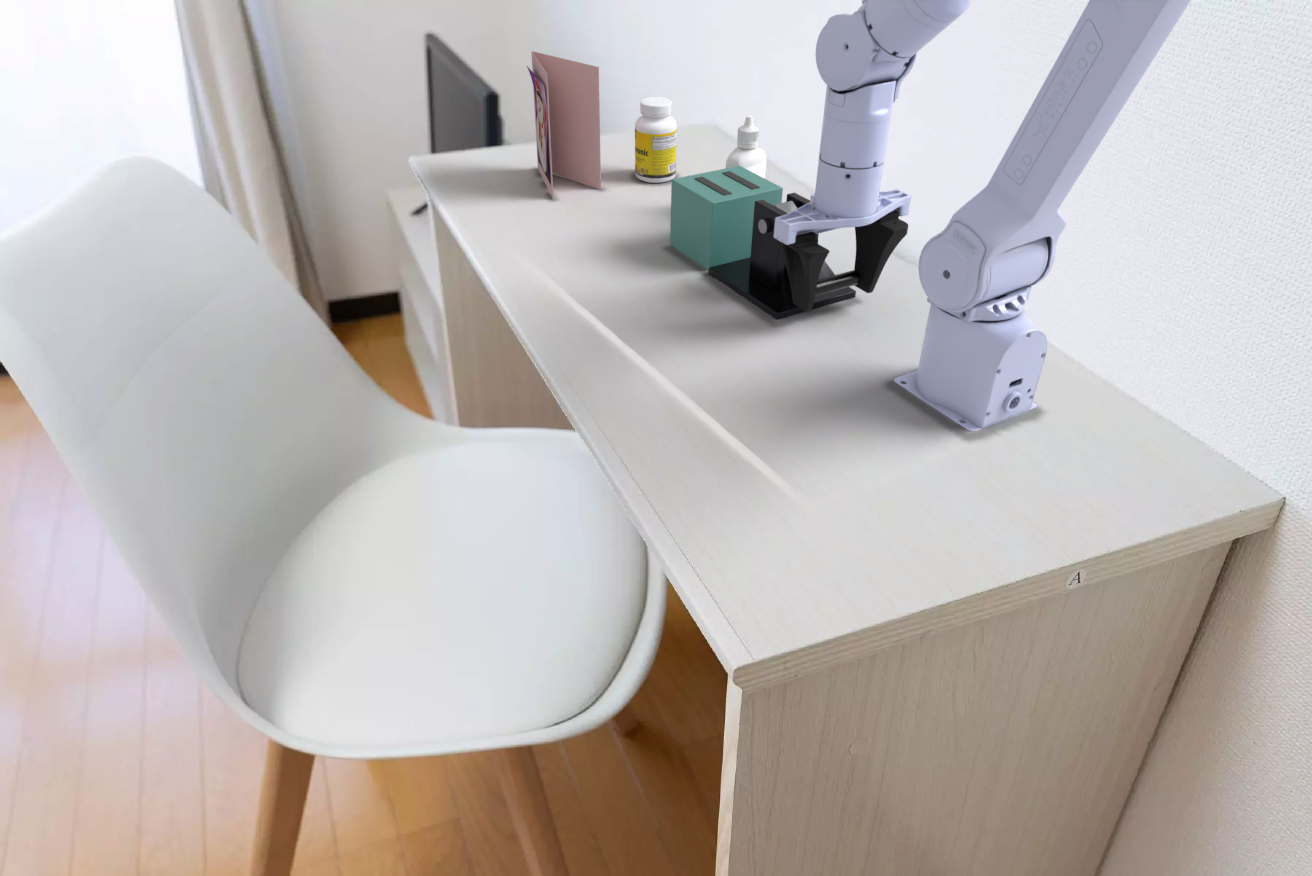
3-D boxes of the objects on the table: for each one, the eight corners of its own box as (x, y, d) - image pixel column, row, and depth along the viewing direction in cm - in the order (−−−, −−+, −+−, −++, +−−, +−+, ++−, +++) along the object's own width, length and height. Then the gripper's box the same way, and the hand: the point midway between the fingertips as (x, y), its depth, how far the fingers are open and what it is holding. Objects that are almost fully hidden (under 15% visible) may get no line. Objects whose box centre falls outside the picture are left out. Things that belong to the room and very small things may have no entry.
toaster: (776, 257, 107) (783, 186, 102) (709, 275, 103) (712, 202, 98) (735, 232, 112) (739, 164, 108) (669, 248, 108) (671, 178, 104)
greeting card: (531, 169, 129) (524, 51, 120) (585, 164, 131) (582, 48, 122) (546, 199, 120) (539, 75, 111) (604, 194, 122) (602, 71, 113)
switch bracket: (854, 301, 98) (867, 214, 93) (776, 324, 94) (784, 234, 89) (783, 258, 107) (791, 176, 101) (707, 277, 102) (712, 193, 97)
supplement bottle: (629, 171, 129) (629, 96, 123) (668, 168, 130) (670, 93, 125) (641, 185, 125) (641, 108, 119) (681, 181, 126) (683, 105, 120)
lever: (854, 290, 95) (864, 274, 93) (806, 304, 92) (816, 287, 90) (798, 214, 99) (807, 196, 97) (751, 225, 96) (758, 207, 94)
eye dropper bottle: (771, 221, 115) (780, 119, 109) (728, 226, 114) (734, 124, 107) (756, 208, 119) (763, 109, 112) (713, 213, 117) (719, 113, 110)
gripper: (882, 134, 91) (862, 266, 99) (758, 158, 85) (747, 297, 93) (936, 155, 86) (911, 293, 94) (808, 183, 80) (793, 328, 88)
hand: (833, 297), depth 93 cm, fingers open, 7 cm apart
